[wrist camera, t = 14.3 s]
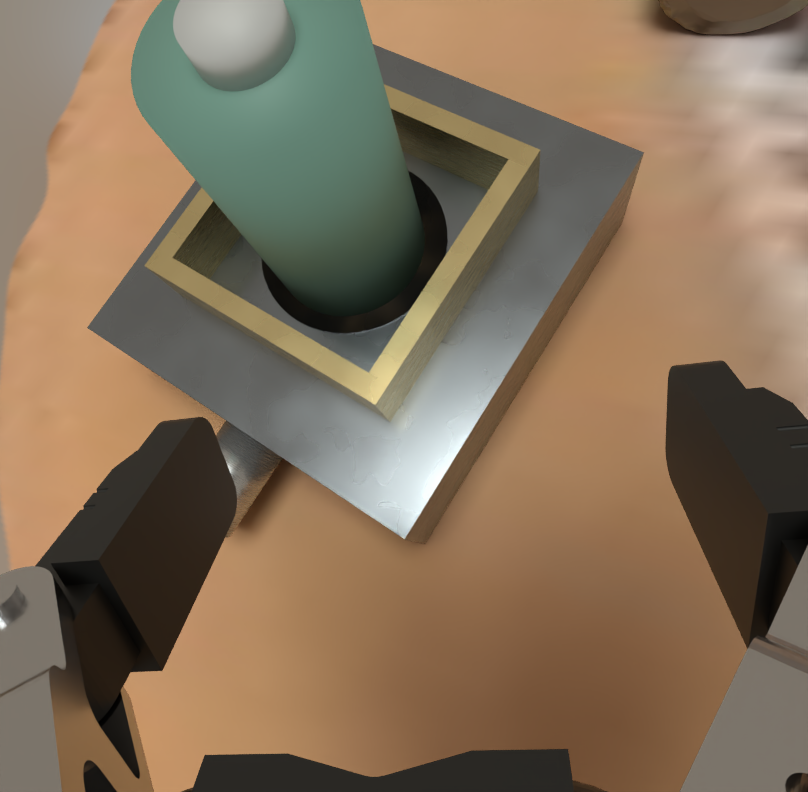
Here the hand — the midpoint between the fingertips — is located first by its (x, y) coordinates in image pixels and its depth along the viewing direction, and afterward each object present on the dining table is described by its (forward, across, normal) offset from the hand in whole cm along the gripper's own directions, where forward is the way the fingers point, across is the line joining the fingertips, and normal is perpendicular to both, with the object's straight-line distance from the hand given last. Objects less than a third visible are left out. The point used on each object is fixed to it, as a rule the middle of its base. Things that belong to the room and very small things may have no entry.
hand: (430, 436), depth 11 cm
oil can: (+16, +4, 0) cm, 16 cm away
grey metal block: (+17, +5, +5) cm, 19 cm away
